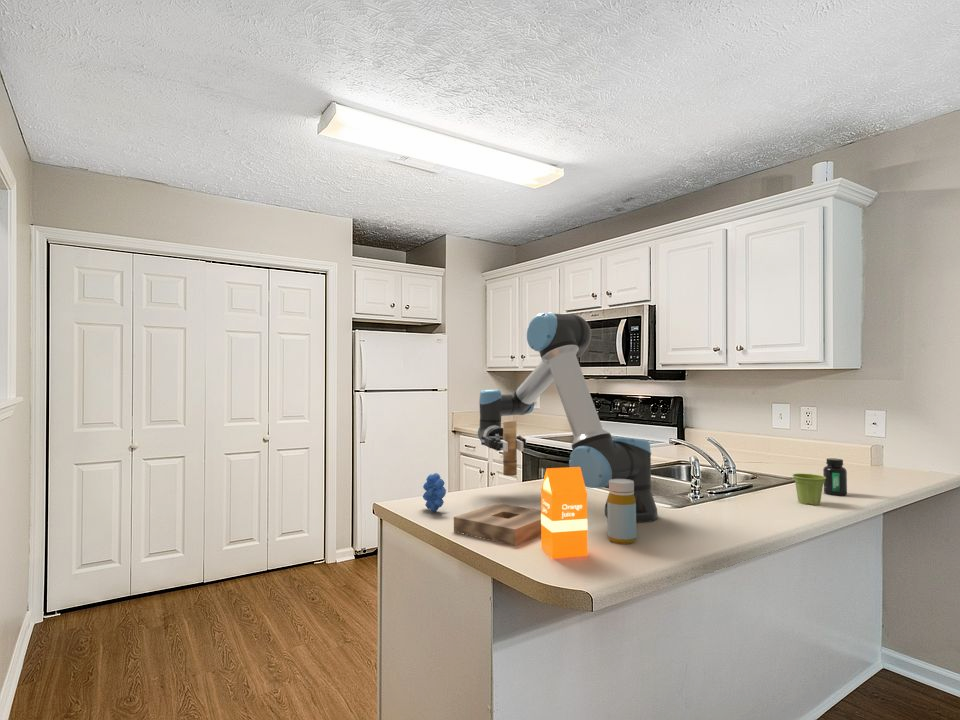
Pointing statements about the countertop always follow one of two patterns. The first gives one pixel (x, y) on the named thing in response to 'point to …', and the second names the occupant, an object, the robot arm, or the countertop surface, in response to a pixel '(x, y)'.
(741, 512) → the countertop surface
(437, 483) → the grapes
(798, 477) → the plant pot
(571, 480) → the orange juice
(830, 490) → the supplement bottle
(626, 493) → the bottle
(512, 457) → the oak leg
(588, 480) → the robot arm
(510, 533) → the walnut board
